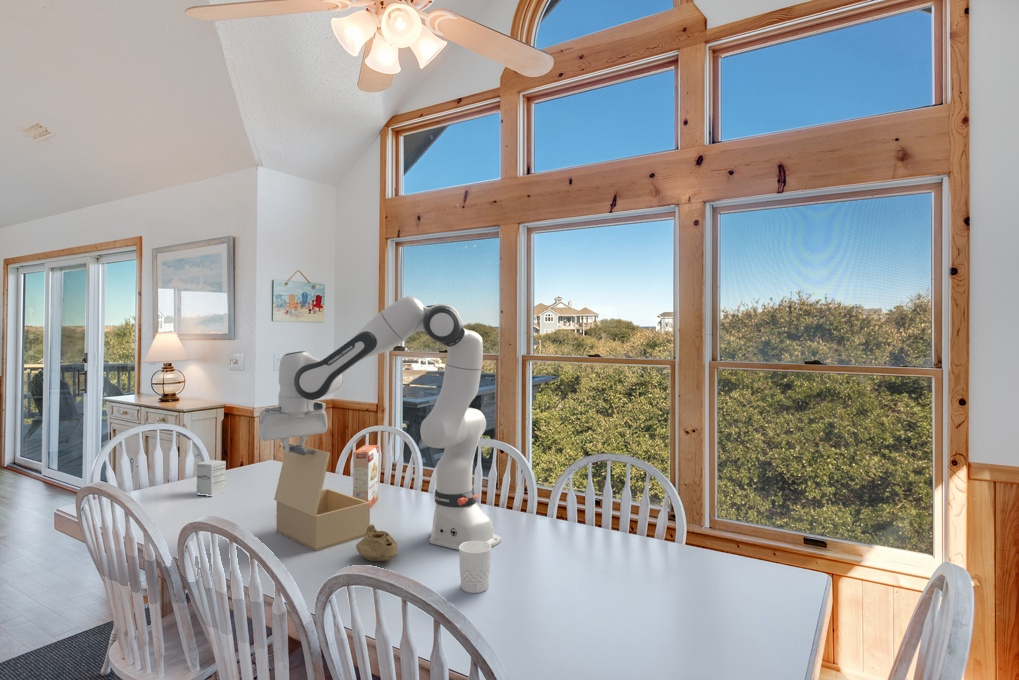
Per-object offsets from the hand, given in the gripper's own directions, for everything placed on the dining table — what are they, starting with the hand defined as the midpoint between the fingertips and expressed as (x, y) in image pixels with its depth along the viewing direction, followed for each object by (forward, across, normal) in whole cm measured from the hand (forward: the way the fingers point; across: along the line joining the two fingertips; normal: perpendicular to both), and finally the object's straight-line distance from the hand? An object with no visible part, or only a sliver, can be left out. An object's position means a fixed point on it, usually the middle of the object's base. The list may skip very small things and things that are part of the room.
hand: (294, 451), depth 166 cm
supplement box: (+28, +3, +72) cm, 77 cm away
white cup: (+27, +15, -62) cm, 69 cm away
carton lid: (+8, +3, 0) cm, 9 cm away
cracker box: (+27, +35, +15) cm, 47 cm away
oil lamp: (+27, +10, -30) cm, 42 cm away
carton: (+27, +9, 0) cm, 28 cm away
